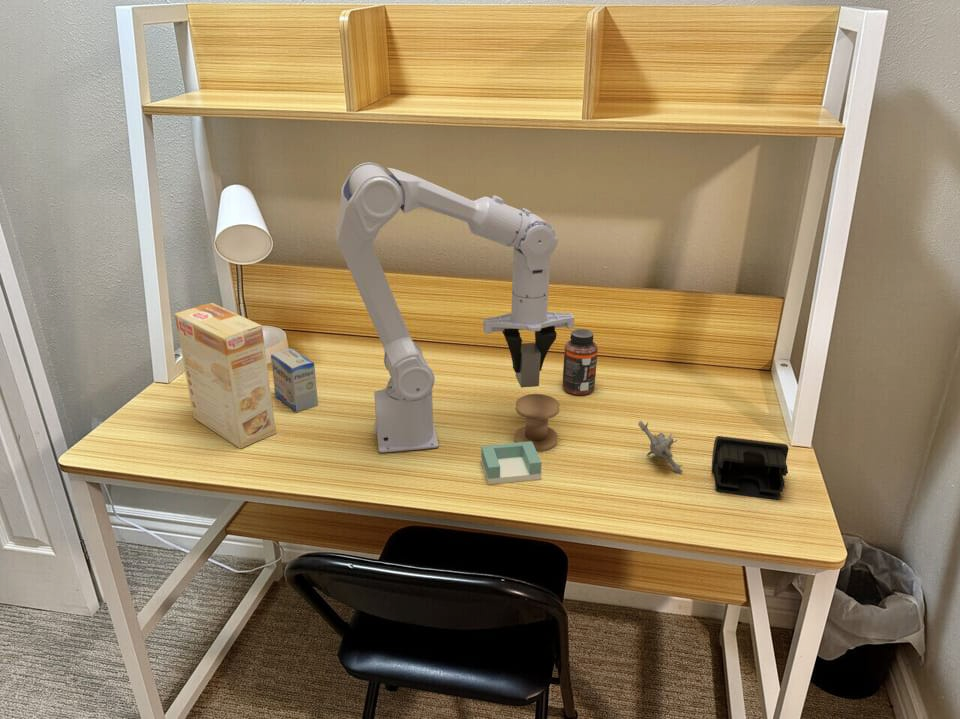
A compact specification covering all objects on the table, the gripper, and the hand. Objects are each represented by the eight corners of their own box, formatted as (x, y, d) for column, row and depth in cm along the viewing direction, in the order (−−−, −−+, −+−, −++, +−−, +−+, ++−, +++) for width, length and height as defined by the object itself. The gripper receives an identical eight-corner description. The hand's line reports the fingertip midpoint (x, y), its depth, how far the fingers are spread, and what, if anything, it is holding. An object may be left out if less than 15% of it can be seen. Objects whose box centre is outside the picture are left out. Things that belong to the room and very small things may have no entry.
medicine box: (274, 397, 136) (269, 353, 132) (296, 389, 139) (291, 346, 135) (296, 413, 131) (291, 368, 127) (319, 405, 133) (314, 361, 130)
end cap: (778, 474, 115) (786, 436, 112) (784, 501, 108) (792, 462, 105) (710, 465, 117) (716, 428, 114) (712, 492, 110) (718, 453, 108)
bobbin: (519, 453, 119) (521, 417, 117) (510, 430, 126) (511, 395, 123) (562, 449, 121) (564, 413, 118) (551, 427, 127) (553, 392, 124)
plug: (521, 387, 123) (522, 354, 120) (515, 376, 126) (516, 343, 124) (538, 386, 123) (540, 353, 121) (532, 374, 127) (534, 342, 124)
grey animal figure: (699, 454, 120) (696, 465, 111) (669, 476, 122) (663, 488, 113) (658, 404, 121) (652, 412, 113) (629, 427, 123) (621, 435, 115)
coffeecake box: (278, 433, 125) (263, 324, 116) (239, 450, 120) (222, 338, 111) (229, 403, 134) (212, 300, 125) (192, 418, 129) (172, 312, 120)
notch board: (488, 484, 112) (488, 467, 110) (481, 462, 117) (481, 445, 116) (540, 479, 113) (541, 462, 112) (531, 457, 118) (532, 441, 117)
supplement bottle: (593, 398, 136) (598, 340, 131) (560, 394, 137) (563, 338, 132) (595, 383, 141) (600, 327, 136) (563, 380, 142) (567, 324, 137)
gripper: (489, 303, 114) (488, 383, 120) (582, 298, 116) (576, 376, 122) (481, 287, 120) (480, 364, 126) (569, 282, 122) (564, 358, 128)
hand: (526, 369), depth 124 cm, fingers closed on plug, 3 cm apart
